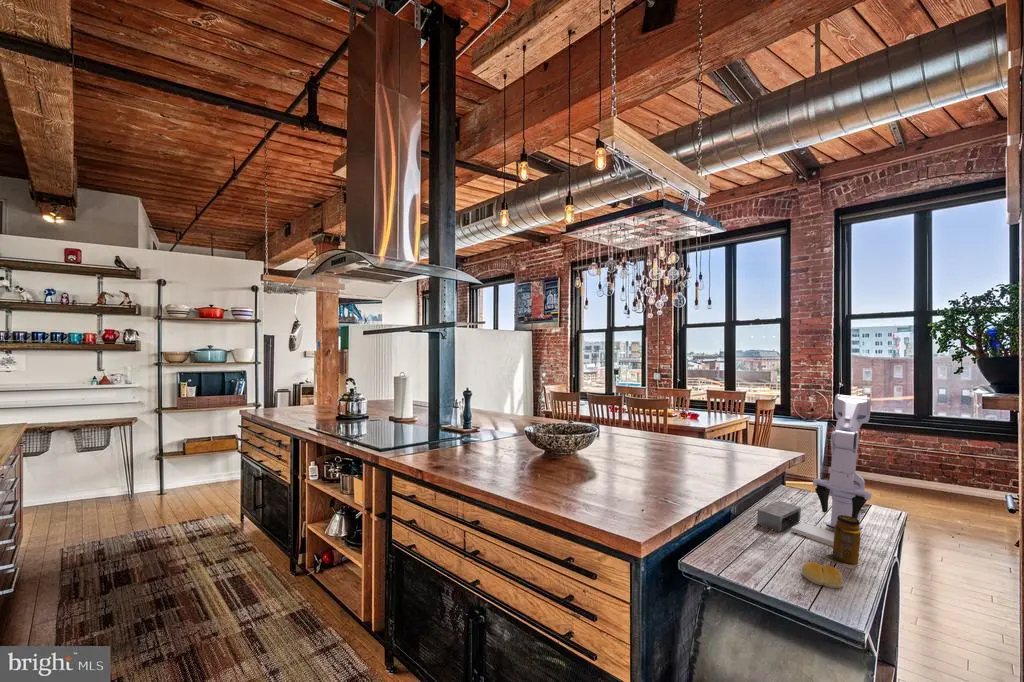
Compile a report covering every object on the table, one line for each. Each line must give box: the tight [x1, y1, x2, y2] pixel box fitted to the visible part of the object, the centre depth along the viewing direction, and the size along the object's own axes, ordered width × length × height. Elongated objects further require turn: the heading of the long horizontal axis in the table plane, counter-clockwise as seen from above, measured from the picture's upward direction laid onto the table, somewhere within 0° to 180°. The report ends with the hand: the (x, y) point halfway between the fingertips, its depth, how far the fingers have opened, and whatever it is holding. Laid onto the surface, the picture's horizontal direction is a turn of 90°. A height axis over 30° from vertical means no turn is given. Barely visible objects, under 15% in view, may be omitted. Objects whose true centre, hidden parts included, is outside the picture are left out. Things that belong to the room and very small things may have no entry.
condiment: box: [822, 515, 865, 570], centre depth 136 cm, size 7×8×12 cm
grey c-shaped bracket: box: [756, 500, 802, 533], centre depth 161 cm, size 16×7×5 cm, turn 128°
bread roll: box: [801, 561, 844, 589], centre depth 124 cm, size 8×9×4 cm
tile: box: [791, 521, 834, 547], centre depth 152 cm, size 8×13×2 cm, turn 38°
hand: (839, 516), depth 143 cm, fingers open, 7 cm apart
